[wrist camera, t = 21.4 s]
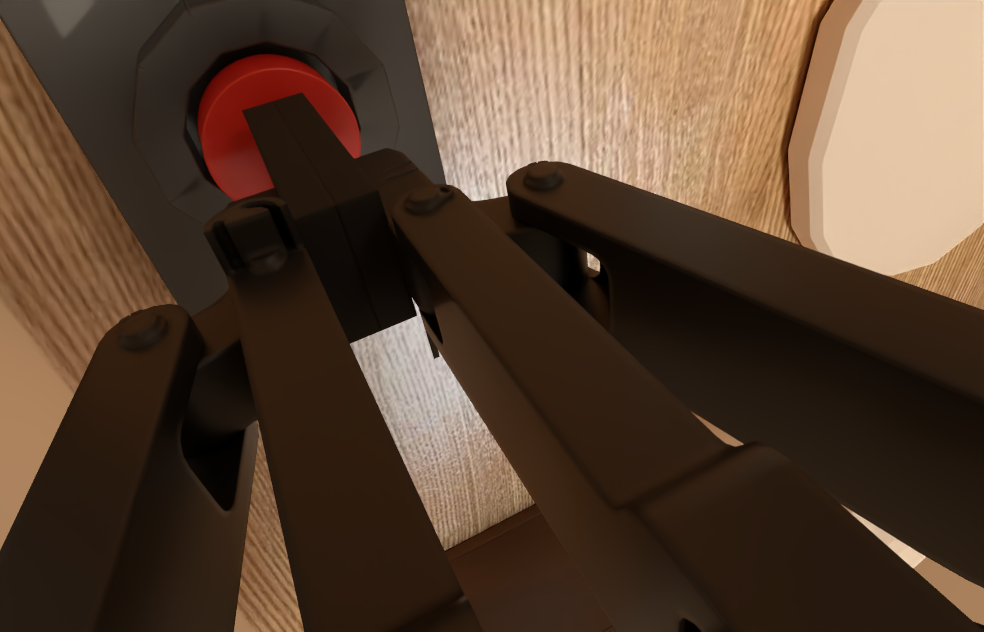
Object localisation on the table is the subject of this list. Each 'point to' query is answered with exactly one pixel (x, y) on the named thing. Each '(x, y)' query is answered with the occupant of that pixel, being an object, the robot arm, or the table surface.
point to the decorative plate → (891, 133)
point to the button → (251, 86)
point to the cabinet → (525, 580)
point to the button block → (179, 88)
